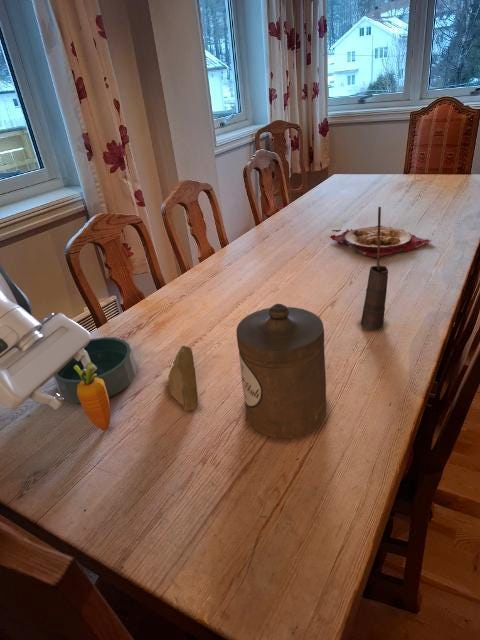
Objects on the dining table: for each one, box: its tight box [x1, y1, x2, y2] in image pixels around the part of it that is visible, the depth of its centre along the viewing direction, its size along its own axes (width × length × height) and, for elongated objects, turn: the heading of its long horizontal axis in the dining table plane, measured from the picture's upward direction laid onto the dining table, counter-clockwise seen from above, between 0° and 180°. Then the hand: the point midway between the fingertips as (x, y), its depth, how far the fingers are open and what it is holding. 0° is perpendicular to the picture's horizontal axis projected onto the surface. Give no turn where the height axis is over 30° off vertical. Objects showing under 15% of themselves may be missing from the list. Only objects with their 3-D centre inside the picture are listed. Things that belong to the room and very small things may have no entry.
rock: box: [166, 345, 199, 412], centre depth 85 cm, size 11×9×10 cm
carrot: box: [74, 363, 111, 432], centre depth 77 cm, size 5×5×15 cm
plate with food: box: [329, 225, 433, 258], centre depth 149 cm, size 24×26×4 cm
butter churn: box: [360, 206, 389, 331], centre depth 95 cm, size 9×10×28 cm
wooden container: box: [235, 303, 327, 439], centre depth 74 cm, size 15×15×22 cm
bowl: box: [52, 336, 137, 404], centre depth 93 cm, size 17×17×6 cm
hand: (78, 388), depth 76 cm, fingers open, 8 cm apart
